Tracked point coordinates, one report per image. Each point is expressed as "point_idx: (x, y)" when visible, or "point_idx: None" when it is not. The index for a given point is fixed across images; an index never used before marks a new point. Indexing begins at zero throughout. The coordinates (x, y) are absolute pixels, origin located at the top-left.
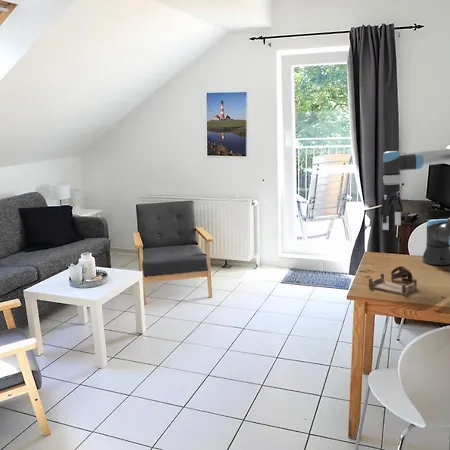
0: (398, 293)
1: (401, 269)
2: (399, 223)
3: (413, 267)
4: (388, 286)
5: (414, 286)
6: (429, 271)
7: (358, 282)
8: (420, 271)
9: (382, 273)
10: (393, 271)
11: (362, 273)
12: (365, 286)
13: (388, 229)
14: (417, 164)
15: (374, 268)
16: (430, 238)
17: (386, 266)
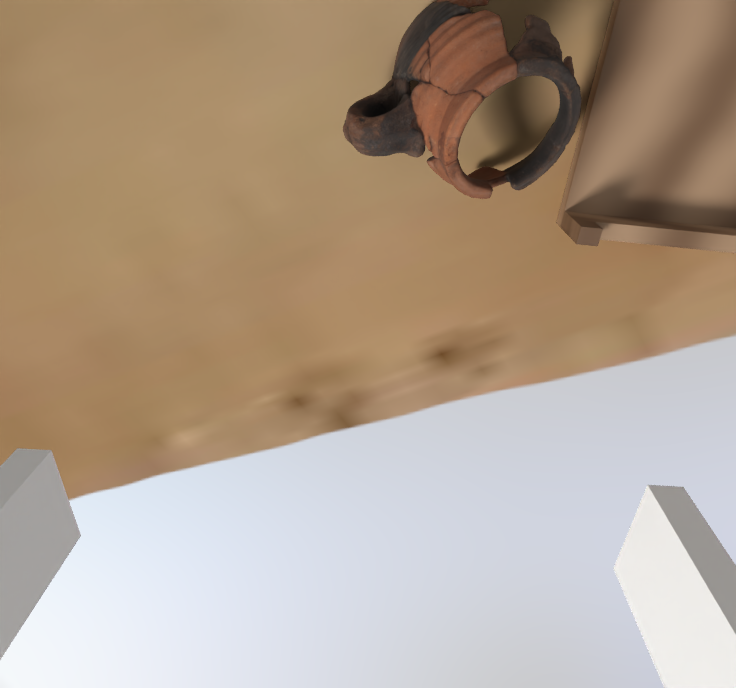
0: None
1: (428, 130)
2: (32, 491)
3: (11, 184)
4: (724, 113)
5: None
6: (18, 16)
7: (620, 348)
8: (76, 88)
9: (582, 237)
10: (484, 181)
11: (392, 404)
12: (707, 276)
13: (662, 490)
14: None
15: (232, 390)
16: None
17: (132, 350)
